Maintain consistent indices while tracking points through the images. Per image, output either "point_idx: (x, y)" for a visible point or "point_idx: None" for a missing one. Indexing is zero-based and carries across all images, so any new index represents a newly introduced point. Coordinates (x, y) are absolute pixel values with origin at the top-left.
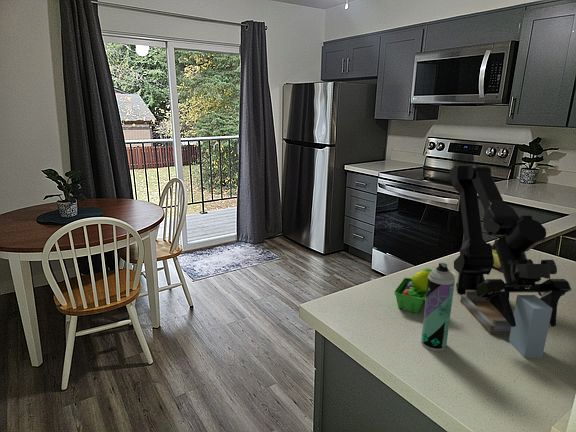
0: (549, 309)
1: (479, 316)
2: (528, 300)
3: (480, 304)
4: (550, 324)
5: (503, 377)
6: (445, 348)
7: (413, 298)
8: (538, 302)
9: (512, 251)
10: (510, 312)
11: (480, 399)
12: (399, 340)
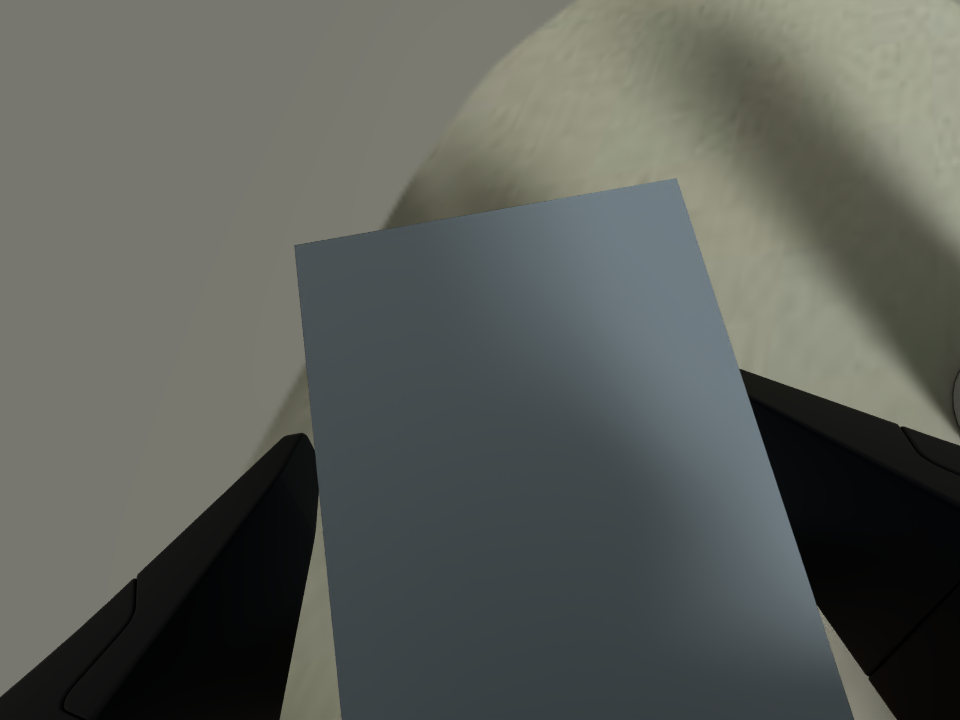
0: (358, 251)
1: None
2: (675, 548)
3: None
4: (317, 483)
5: (684, 199)
6: (957, 381)
7: None
8: (466, 483)
9: None
10: (831, 415)
11: (805, 57)
12: None
